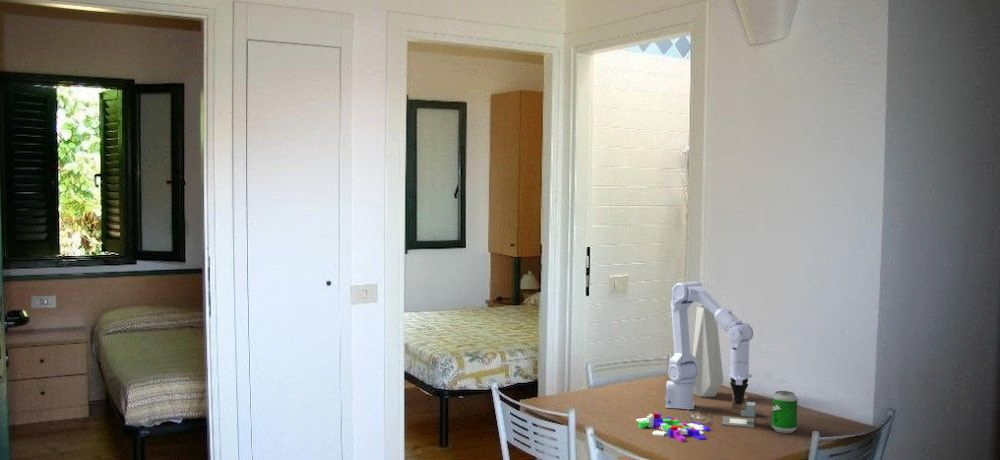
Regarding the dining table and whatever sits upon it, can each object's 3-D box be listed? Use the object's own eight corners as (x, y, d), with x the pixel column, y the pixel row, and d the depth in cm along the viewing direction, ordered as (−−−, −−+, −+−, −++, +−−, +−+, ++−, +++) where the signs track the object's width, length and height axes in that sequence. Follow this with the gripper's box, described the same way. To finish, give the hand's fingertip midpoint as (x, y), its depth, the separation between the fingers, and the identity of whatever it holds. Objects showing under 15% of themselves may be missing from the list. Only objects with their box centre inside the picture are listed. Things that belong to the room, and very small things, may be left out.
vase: (726, 394, 317) (728, 306, 316) (716, 400, 308) (718, 309, 306) (695, 389, 324) (696, 303, 322) (684, 395, 314) (686, 307, 313)
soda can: (796, 428, 273) (797, 391, 272) (796, 434, 265) (797, 396, 265) (771, 426, 275) (772, 389, 274) (771, 432, 268) (772, 394, 267)
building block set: (726, 438, 262) (726, 424, 262) (667, 445, 256) (667, 430, 255) (682, 417, 286) (683, 404, 286) (628, 423, 279) (628, 409, 279)
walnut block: (732, 409, 277) (732, 397, 277) (732, 405, 281) (732, 393, 281) (746, 410, 276) (746, 398, 276) (746, 406, 280) (746, 394, 280)
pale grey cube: (740, 416, 287) (741, 404, 287) (741, 412, 291) (741, 401, 291) (754, 417, 286) (755, 405, 286) (754, 414, 290) (755, 402, 290)
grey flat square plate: (722, 425, 276) (722, 423, 276) (722, 417, 285) (722, 416, 285) (754, 427, 273) (754, 426, 273) (754, 419, 282) (754, 418, 282)
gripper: (752, 366, 270) (751, 408, 271) (752, 357, 284) (751, 397, 284) (729, 364, 272) (728, 406, 272) (730, 356, 286) (729, 396, 286)
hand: (738, 402), depth 279 cm, fingers closed on walnut block, 4 cm apart
